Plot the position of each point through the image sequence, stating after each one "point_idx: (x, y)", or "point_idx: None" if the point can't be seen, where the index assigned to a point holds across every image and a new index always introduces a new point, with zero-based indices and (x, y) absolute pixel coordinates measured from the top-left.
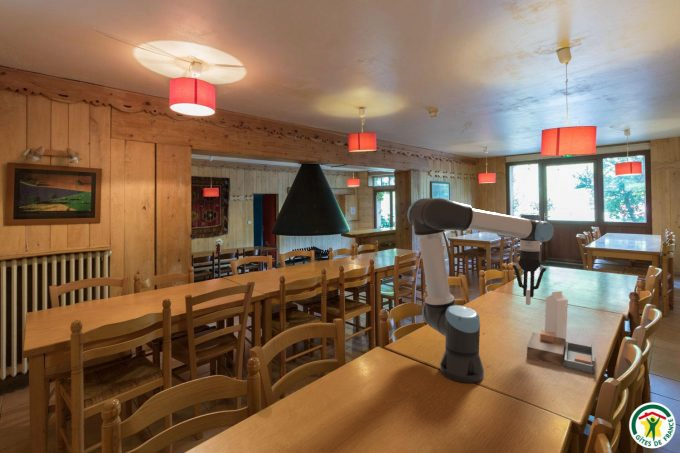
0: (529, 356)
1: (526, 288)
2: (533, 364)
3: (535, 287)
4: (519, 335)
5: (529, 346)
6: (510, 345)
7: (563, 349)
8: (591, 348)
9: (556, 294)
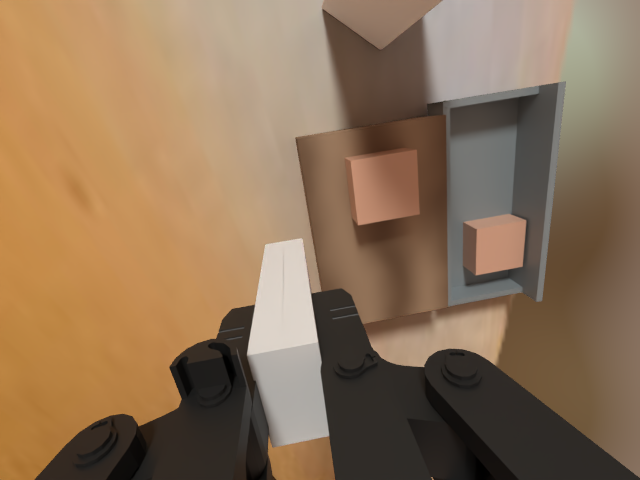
0: None
1: (266, 443)
2: None
3: (441, 477)
4: (215, 81)
5: None
6: (238, 242)
7: (446, 258)
8: (541, 143)
9: None
